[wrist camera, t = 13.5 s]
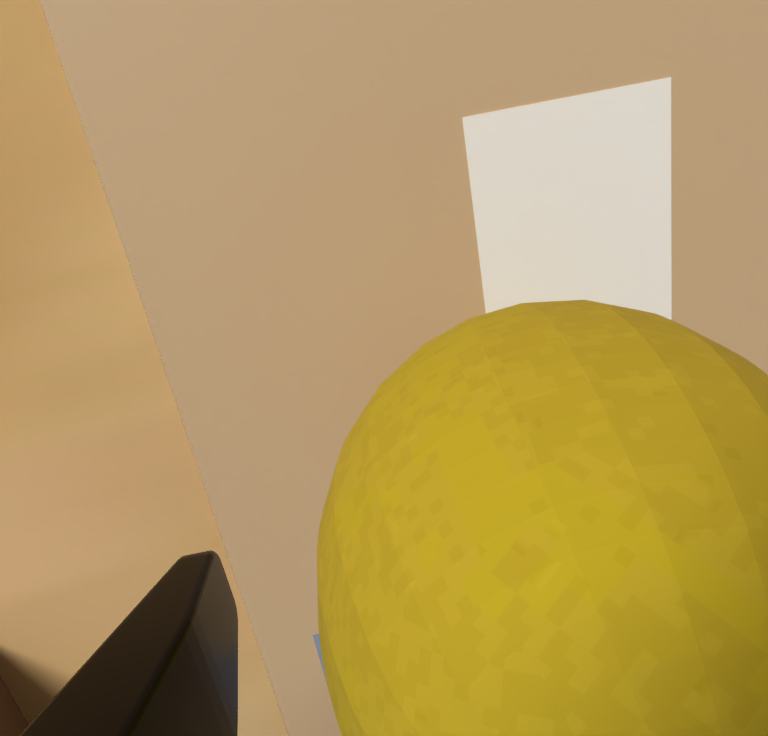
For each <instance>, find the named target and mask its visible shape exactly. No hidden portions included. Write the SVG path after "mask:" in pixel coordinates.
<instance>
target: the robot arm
mask: <svg viewBox="0 0 768 736" xmlns="http://www.w3.org/2000/svg"><path fill="white" fill-rule="evenodd" d="M237 724H238V617H237V609H236V604H235V600H234V597H233V594H232V592H231V589H230V586H229V583H228V580H227V577H226V574H225V571H224V568H223V565H222V562H221V560H220V558H219V556H218V554H217V553H215V552H214V551H206V552H201V553H196V554H190V555H186V556H183V557H181V558H180V559H179V560H178V561H177V562H176V563H175V564H174V565H173V566H172V567H171V568H170V569H169V570H168V572H167V573H166V574H165V575H164V576H163V577H162V578H161V579H160V580H159V582H158V583H157V584H156V585H155V586H154V587H153V588H152V589H151V590H150V592H149V593H148V594H147V595H146V596H145V597H144V598H143V599H142V600H141V602H140V603H139V604H138V605H137V606H136V607H135V608H134V609H133V610H132V612H131V613H130V614H129V615H128V616H127V617H126V618H125V619H124V620H123V622H122V623H121V624H120V625H119V626H118V627H117V628H116V629H115V630H114V632H113V633H112V634H111V635H110V636H109V637H108V638H107V639H106V640H105V642H104V643H103V644H102V645H101V646H100V647H99V648H98V649H97V650H96V651H95V653H94V654H93V655H92V656H91V657H90V658H89V659H88V660H87V661H86V663H85V664H84V665H83V666H82V667H81V668H80V669H79V670H78V671H77V673H76V674H75V675H74V676H73V677H72V678H71V679H70V680H69V681H68V683H67V684H66V685H65V686H64V687H63V688H62V689H61V690H60V691H59V693H58V694H57V695H56V696H55V697H54V698H53V699H52V700H51V701H50V703H49V704H48V705H47V706H46V707H45V708H44V709H43V710H42V711H41V713H40V714H39V715H38V716H37V717H36V718H35V719H34V720H33V721H32V723H31V724H30V725H29V726H28V727H27V728H26V729H25V730H24V731H23V733H22V734H21V735H20V736H237Z"/></svg>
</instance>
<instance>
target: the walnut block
mask: <svg viewBox="0 0 768 736" xmlns="http://www.w3.org/2000/svg"><path fill="white" fill-rule="evenodd" d="M28 726H29V724H28V722H27V720H26V719H25V717H24V715H23V714H22V712H21V710H20V709H19V707H18V705H17V703H16V702H15V700H14V698H13V697H12V695H11V693H10V692H9V690H8V688H7V687H6V685H5V683H4V682H3V680H2V678H1V676H0V736H20V735H21V734H22V733H23V731H24V730H25V729H26V728H27V727H28Z"/></svg>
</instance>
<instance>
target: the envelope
mask: <svg viewBox="0 0 768 736" xmlns="http://www.w3.org/2000/svg"><path fill="white" fill-rule="evenodd" d="M40 2H41V5H42V8H43V11H44V14H45V17H46V20H47V23H48V26H49V29H50V32H51V35H52V38H53V41H54V44H55V47H56V50H57V53H58V55H59V58H60V61H61V64H62V67H63V70H64V73H65V76H66V79H67V82H68V85H69V88H70V91H71V94H72V97H73V100H74V103H75V106H76V109H77V112H78V115H79V118H80V121H81V123H82V126H83V129H84V132H85V135H86V138H87V141H88V144H89V147H90V150H91V153H92V156H93V159H94V162H95V165H96V168H97V171H98V174H99V177H100V180H101V183H102V186H103V189H104V191H105V194H106V197H107V200H108V203H109V206H110V209H111V212H112V215H113V218H114V221H115V224H116V227H117V230H118V233H119V236H120V239H121V242H122V245H123V248H124V251H125V254H126V257H127V259H128V262H129V265H130V268H131V271H132V274H133V277H134V280H135V283H136V286H137V289H138V292H139V295H140V298H141V301H142V304H143V307H144V310H145V313H146V316H147V319H148V322H149V324H150V327H151V330H152V333H153V336H154V339H155V342H156V345H157V348H158V351H159V354H160V357H161V360H162V363H163V366H164V369H165V372H166V375H167V378H168V381H169V384H170V387H171V390H172V392H173V395H174V398H175V401H176V404H177V407H178V410H179V413H180V416H181V419H182V422H183V425H184V428H185V431H186V434H187V437H188V440H189V443H190V446H191V449H192V452H193V455H194V458H195V460H196V463H197V466H198V469H199V472H200V475H201V478H202V481H203V484H204V487H205V490H206V493H207V496H208V499H209V502H210V505H211V508H212V511H213V514H214V517H215V520H216V523H217V526H218V528H219V531H220V534H221V537H222V540H223V543H224V546H225V549H226V552H227V555H228V558H229V561H230V564H231V567H232V570H233V573H234V576H235V579H236V582H237V585H238V588H239V591H240V593H241V596H242V599H243V602H244V605H245V608H246V611H247V614H248V617H249V620H250V623H251V626H252V629H253V632H254V635H255V638H256V641H257V644H258V647H259V650H260V653H261V656H262V659H263V661H264V664H265V667H266V670H267V673H268V676H269V679H270V682H271V685H272V688H273V691H274V694H275V697H276V700H277V703H278V706H279V709H280V712H281V715H282V718H283V721H284V724H285V727H286V729H287V732H288V735H289V736H342V734H341V731H340V728H339V725H338V722H337V719H336V715H335V712H334V708H333V704H332V701H331V697H330V694H329V690H328V685H327V681H326V676H325V671H324V666H323V661H322V654H321V646H320V638H319V628H318V584H317V546H318V534H319V527H320V522H321V517H322V512H323V508H324V505H325V501H326V498H327V494H328V491H329V488H330V484H331V481H332V478H333V474H334V471H335V467H336V464H337V461H338V457H339V454H340V452H341V449H342V446H343V443H344V441H345V439H346V438H347V436H348V434H349V432H350V431H351V429H352V427H353V426H354V424H355V423H356V421H357V420H358V418H359V417H360V415H361V413H362V412H363V410H364V409H365V407H366V406H367V404H368V403H369V401H370V399H371V398H372V396H373V395H374V393H375V392H376V390H377V389H378V387H379V385H381V384H382V383H383V382H384V381H385V380H386V379H387V378H388V377H389V376H390V375H391V374H392V373H393V372H394V371H396V370H397V369H398V368H399V367H400V366H401V365H402V364H403V363H404V362H405V361H406V360H407V359H408V358H409V357H411V356H412V355H413V354H414V353H415V352H416V351H417V350H418V349H419V348H420V347H421V346H423V345H424V344H425V343H427V342H429V341H431V340H432V339H434V338H436V337H438V336H439V335H441V334H443V333H445V332H446V331H448V330H450V329H452V328H453V327H455V326H457V325H459V324H460V323H462V322H464V321H466V320H467V319H469V318H473V317H476V316H479V315H483V314H486V313H490V312H493V311H497V310H500V309H503V308H507V307H510V306H514V305H517V304H521V303H531V302H550V301H569V300H589V301H594V302H599V303H604V304H610V305H615V306H620V307H625V308H630V309H636V310H641V311H645V312H650V313H655V314H658V315H660V316H663V317H665V318H668V319H670V320H673V321H675V322H677V323H679V324H681V325H683V326H685V327H687V328H689V329H691V330H693V331H695V332H697V333H699V334H700V335H702V336H704V337H706V338H708V339H710V340H712V341H714V342H716V343H718V344H720V345H722V346H724V347H726V348H728V349H730V350H731V351H733V352H735V353H737V354H738V355H740V356H742V357H744V358H745V359H747V360H749V361H750V362H751V363H753V364H754V365H755V366H757V367H758V368H759V369H761V370H762V371H763V372H765V373H766V374H767V375H768V0H40Z"/></svg>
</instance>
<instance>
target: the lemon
mask: <svg viewBox="0 0 768 736" xmlns="http://www.w3.org/2000/svg"><path fill="white" fill-rule="evenodd" d="M317 584H318V628H319V638H320V646H321V654H322V661H323V666H324V671H325V676H326V681H327V685H328V690H329V694H330V697H331V701H332V704H333V708H334V712H335V715H336V719H337V722H338V725H339V728H340V731H341V734H342V736H768V375H767V374H766V373H765V372H763V371H762V370H761V369H759V368H758V367H757V366H755V365H754V364H753V363H751V362H750V361H749V360H747V359H745V358H744V357H742V356H740V355H738V354H737V353H735V352H733V351H731V350H730V349H728V348H726V347H724V346H722V345H720V344H718V343H716V342H714V341H712V340H710V339H708V338H706V337H704V336H702V335H700V334H699V333H697V332H695V331H693V330H691V329H689V328H687V327H685V326H683V325H681V324H679V323H677V322H675V321H673V320H670V319H668V318H665V317H663V316H660V315H658V314H655V313H650V312H645V311H641V310H636V309H630V308H625V307H620V306H615V305H610V304H604V303H599V302H594V301H589V300H569V301H550V302H531V303H521V304H517V305H514V306H510V307H507V308H503V309H500V310H497V311H493V312H490V313H486V314H483V315H479V316H476V317H473V318H469V319H467V320H466V321H464V322H462V323H460V324H459V325H457V326H455V327H453V328H452V329H450V330H448V331H446V332H445V333H443V334H441V335H439V336H438V337H436V338H434V339H432V340H431V341H429V342H427V343H425V344H424V345H423V346H421V347H420V348H419V349H418V350H417V351H416V352H415V353H414V354H413V355H412V356H411V357H409V358H408V359H407V360H406V361H405V362H404V363H403V364H402V365H401V366H400V367H399V368H398V369H397V370H396V371H394V372H393V373H392V374H391V375H390V376H389V377H388V378H387V379H386V380H385V381H384V382H383V383H382V384H381V385H379V387H378V389H377V390H376V392H375V393H374V395H373V396H372V398H371V399H370V401H369V403H368V404H367V406H366V407H365V409H364V410H363V412H362V413H361V415H360V417H359V418H358V420H357V421H356V423H355V424H354V426H353V427H352V429H351V431H350V432H349V434H348V436H347V438H346V439H345V441H344V443H343V446H342V449H341V452H340V454H339V457H338V461H337V464H336V467H335V471H334V474H333V478H332V481H331V484H330V488H329V491H328V494H327V498H326V501H325V505H324V508H323V512H322V517H321V522H320V527H319V534H318V546H317Z"/></svg>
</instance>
